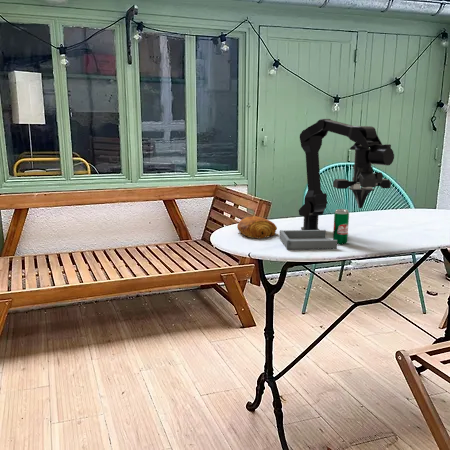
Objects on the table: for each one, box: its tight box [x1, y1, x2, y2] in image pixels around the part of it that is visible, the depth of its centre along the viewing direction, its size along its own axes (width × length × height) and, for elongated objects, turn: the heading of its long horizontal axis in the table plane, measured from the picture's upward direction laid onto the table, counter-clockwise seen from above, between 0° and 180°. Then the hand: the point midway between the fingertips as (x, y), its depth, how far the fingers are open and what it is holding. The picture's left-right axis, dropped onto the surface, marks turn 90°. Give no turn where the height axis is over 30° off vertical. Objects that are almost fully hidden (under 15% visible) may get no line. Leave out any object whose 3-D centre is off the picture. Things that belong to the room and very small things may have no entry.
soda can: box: [332, 208, 350, 245], centre depth 163 cm, size 5×5×12 cm
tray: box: [278, 229, 338, 251], centre depth 163 cm, size 16×17×3 cm
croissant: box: [237, 215, 278, 239], centre depth 176 cm, size 14×16×8 cm
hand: (360, 208), depth 162 cm, fingers closed
